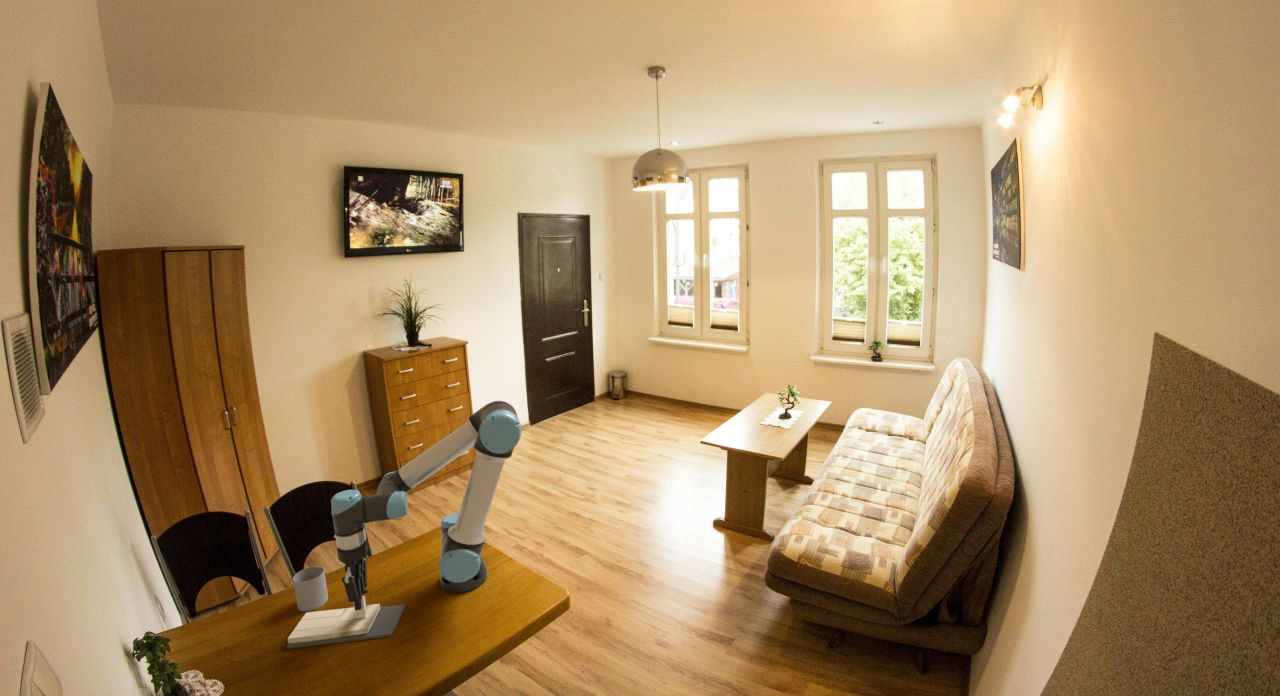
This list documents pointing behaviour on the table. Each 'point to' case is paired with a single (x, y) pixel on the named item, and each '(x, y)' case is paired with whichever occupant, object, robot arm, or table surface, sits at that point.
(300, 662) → the table surface
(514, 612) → the table surface
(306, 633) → the floor section
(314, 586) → the cup
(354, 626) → the loose plank
